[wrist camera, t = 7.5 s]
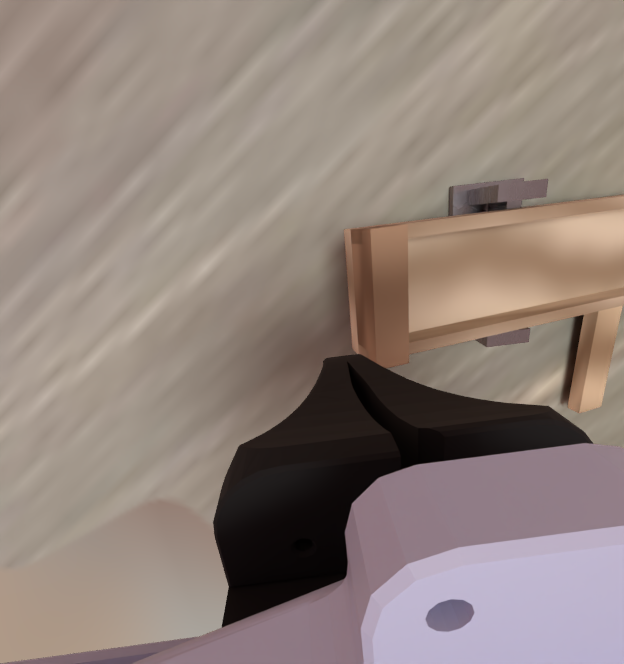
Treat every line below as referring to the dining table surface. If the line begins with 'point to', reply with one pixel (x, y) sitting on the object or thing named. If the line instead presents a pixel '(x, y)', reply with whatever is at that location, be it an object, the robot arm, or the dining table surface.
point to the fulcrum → (494, 199)
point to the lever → (491, 282)
